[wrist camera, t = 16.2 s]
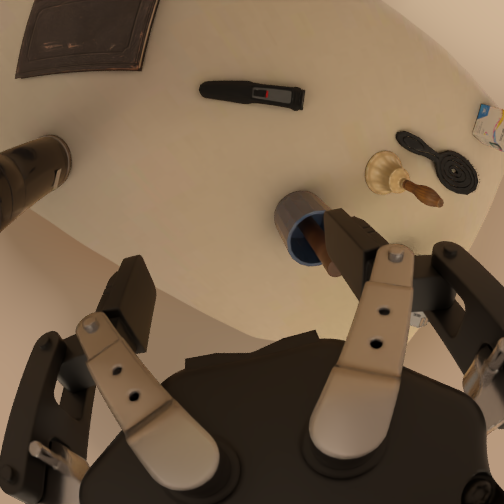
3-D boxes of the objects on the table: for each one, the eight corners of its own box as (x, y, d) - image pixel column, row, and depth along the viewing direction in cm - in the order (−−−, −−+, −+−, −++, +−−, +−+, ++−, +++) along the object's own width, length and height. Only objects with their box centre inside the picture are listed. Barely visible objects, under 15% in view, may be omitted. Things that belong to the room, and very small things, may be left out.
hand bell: (356, 173, 46) (410, 207, 32) (385, 141, 43) (446, 164, 30) (381, 202, 49) (433, 242, 36) (408, 172, 47) (465, 203, 33)
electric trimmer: (201, 77, 35) (200, 75, 33) (304, 89, 38) (311, 88, 35) (199, 101, 37) (197, 100, 34) (301, 111, 40) (307, 112, 37)
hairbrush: (411, 116, 39) (485, 171, 44) (400, 114, 42) (475, 166, 47) (396, 158, 42) (472, 204, 48) (386, 153, 46) (462, 198, 51)
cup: (278, 244, 51) (291, 272, 43) (270, 196, 46) (283, 217, 38) (325, 233, 51) (345, 258, 43) (322, 185, 46) (344, 204, 39)
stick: (294, 225, 49) (327, 279, 35) (292, 211, 47) (327, 261, 33) (309, 222, 49) (348, 274, 35) (308, 207, 47) (348, 255, 34)
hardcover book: (141, 70, 33) (137, 69, 31) (21, 78, 28) (14, 78, 26) (165, -18, 26) (163, -24, 24) (42, -3, 21) (36, -6, 19)
